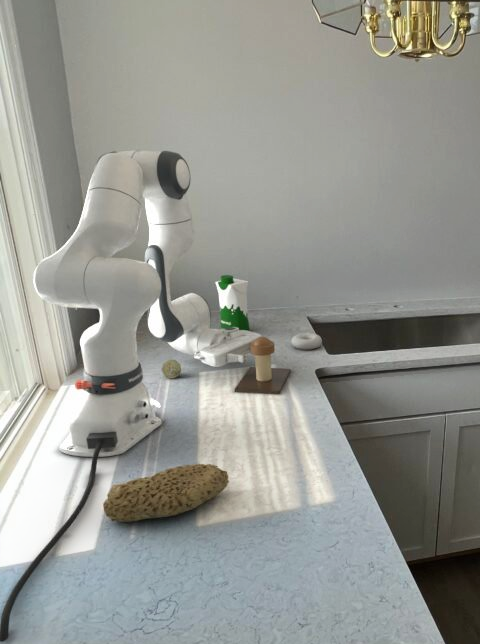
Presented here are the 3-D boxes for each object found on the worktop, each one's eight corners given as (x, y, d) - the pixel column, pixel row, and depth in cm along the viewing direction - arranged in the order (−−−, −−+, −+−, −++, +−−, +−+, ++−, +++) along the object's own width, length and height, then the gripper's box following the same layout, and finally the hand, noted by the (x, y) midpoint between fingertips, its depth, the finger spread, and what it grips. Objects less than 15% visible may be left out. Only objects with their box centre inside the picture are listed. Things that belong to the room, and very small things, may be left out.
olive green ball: (183, 377, 157) (182, 360, 155) (166, 381, 154) (164, 364, 152) (178, 372, 160) (176, 356, 158) (161, 376, 157) (159, 359, 155)
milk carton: (216, 332, 193) (212, 275, 186) (236, 326, 200) (232, 271, 193) (235, 337, 189) (230, 279, 181) (254, 331, 196) (250, 275, 188)
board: (279, 394, 148) (279, 391, 148) (234, 391, 149) (234, 389, 148) (290, 371, 163) (290, 368, 163) (250, 369, 164) (250, 366, 163)
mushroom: (272, 383, 153) (270, 341, 148) (249, 382, 153) (247, 340, 148) (277, 374, 159) (276, 333, 154) (255, 373, 159) (253, 332, 154)
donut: (287, 349, 180) (316, 352, 178) (286, 339, 179) (316, 342, 177) (297, 340, 189) (326, 342, 187) (297, 330, 188) (325, 332, 186)
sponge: (108, 540, 95) (224, 512, 96) (94, 499, 93) (212, 470, 95) (132, 506, 108) (234, 481, 109) (120, 469, 106) (224, 444, 107)
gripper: (188, 345, 149) (229, 354, 144) (238, 325, 167) (276, 332, 161) (191, 366, 152) (231, 376, 146) (239, 344, 169) (277, 353, 164)
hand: (255, 353), depth 154 cm, fingers open, 8 cm apart
